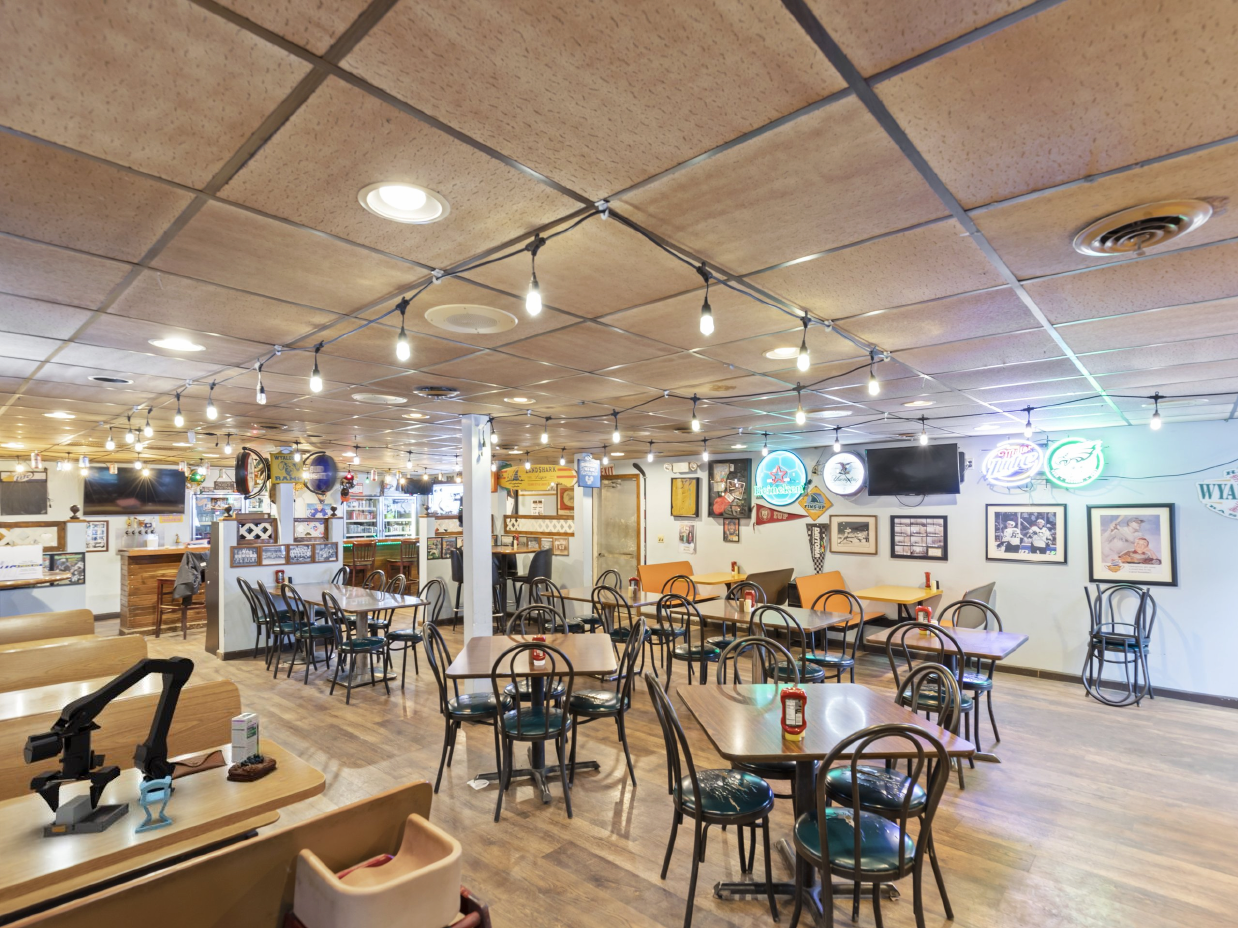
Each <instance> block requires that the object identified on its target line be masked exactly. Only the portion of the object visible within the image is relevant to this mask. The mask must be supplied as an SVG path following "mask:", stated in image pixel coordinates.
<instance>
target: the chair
mask: <svg viewBox="0 0 1238 928" xmlns="http://www.w3.org/2000/svg"><path fill="white" fill-rule="evenodd" d="M142 781H143V780H142ZM142 781H141V782H140V783H139V786H138V787H139V791H140V798H141V799H140V798H139V799H140V801H139V804H138V807H139V808H141V807H142V808H143V810H144V812H145V815H146V818H145V819H143V821H142V822H141V823H140V824H139V825H138V826H137V827H136V828H135V831H134V833H135V834H141V833H145V832H149V831H154V830H157V829H161V828H165V827H169V826H171V825H173V820H172V818H170V817H169V816H167V815H166V814H165V810H166V806H167V805H168V802H169V801H170V798H171V797H170V796H171V793H170V789H168V786H169V784H170V782H171V776H166V778H165V779H158V780H153V781H150V782H148V783H146V781H143V782H142ZM160 787H164V788H165V790H162V791H158V792H153V793H147V791H148V790H151V789H154V788H160ZM141 793H142V795H141ZM162 802H163V803H162ZM156 803H162V806H161V809H160V811H159V813H158V816H159V817H158V818H159V819H160V820H161V821H163V822H161V823H156V824H152V825H148V824H149V823H150V822H151V820H152V818H153V817H152V816H153V815H152V813H151V811H150V810H149V807H148V805H151V804H156ZM146 825H148V826H146Z"/></svg>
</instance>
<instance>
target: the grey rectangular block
mask: <svg viewBox="0 0 1238 928" xmlns="http://www.w3.org/2000/svg"><path fill="white" fill-rule="evenodd" d="M93 810H94V809H92V807H91V800H90V793H89V794H80V795H79V794H77V795H76V796H75V797H73V798H72V799H70V800H68V801H67V802H65V803H64V804H62V805H59V808H57V809H56V813H55V820H56V825H62V824H74V823H75V822H77V821H78V820H80V819H81V818H82V817H84V816H85V815H87V814H88V813H90V812H91V811H93Z"/></svg>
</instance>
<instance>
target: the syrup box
mask: <svg viewBox="0 0 1238 928" xmlns="http://www.w3.org/2000/svg"><path fill="white" fill-rule="evenodd" d="M259 723H260V713H257V712H244V713H242V714H240V715H239V714H238V715H237V716H235V717H232V718H231V762H232V763H235V764H236V763H239V762H242V761H244V760H246V759H247V757H248V756H254V755H255V754H259V753H260V752H259V751H260V743H259V742H260V737H259V736H260V730H259V729H260V728H259V727H260V725H259ZM259 755H260V754H259Z"/></svg>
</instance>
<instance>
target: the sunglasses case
mask: <svg viewBox="0 0 1238 928" xmlns="http://www.w3.org/2000/svg"><path fill="white" fill-rule="evenodd" d="M169 762H170V763H172V764H173V765H175V766H176V768H175V770H174V773H173V774H172V781H175V780H178V779H181V778H184V777H187V776H192V775H195V774H199V773H203V772H207V771H210V770H213V769H214V770H215V769H217V768H221V767H222V768H223V767H227V766H228V765H229V764H227V762H226V760H225V758H224V755H223V750H221V749H217V750H214V751H211V752H208V753H204V754H199V755H196V756H192V757H188V758H185V759H183V758H182V759H179V760H177V761H169Z"/></svg>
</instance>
